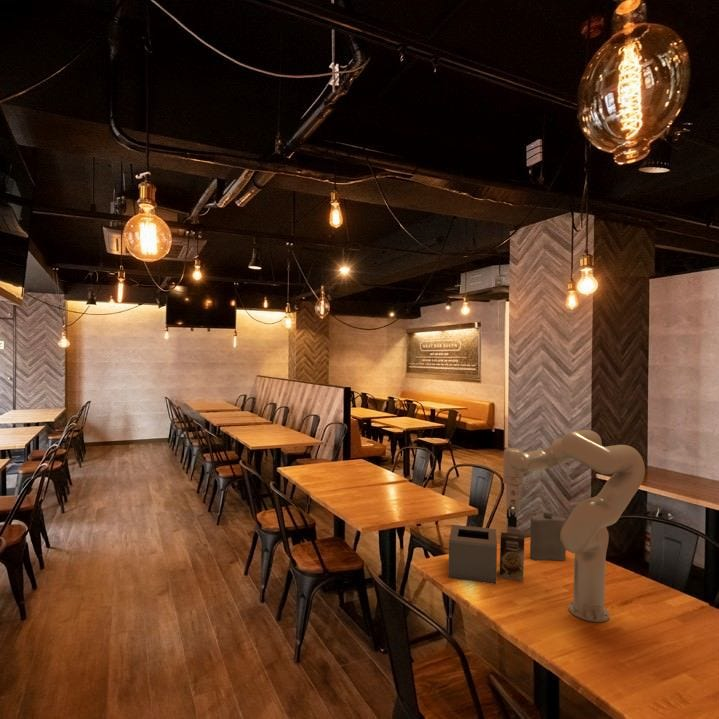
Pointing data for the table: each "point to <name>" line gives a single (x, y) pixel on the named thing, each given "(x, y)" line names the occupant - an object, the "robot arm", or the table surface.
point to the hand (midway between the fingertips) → (511, 522)
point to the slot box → (473, 554)
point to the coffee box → (511, 556)
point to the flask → (547, 537)
